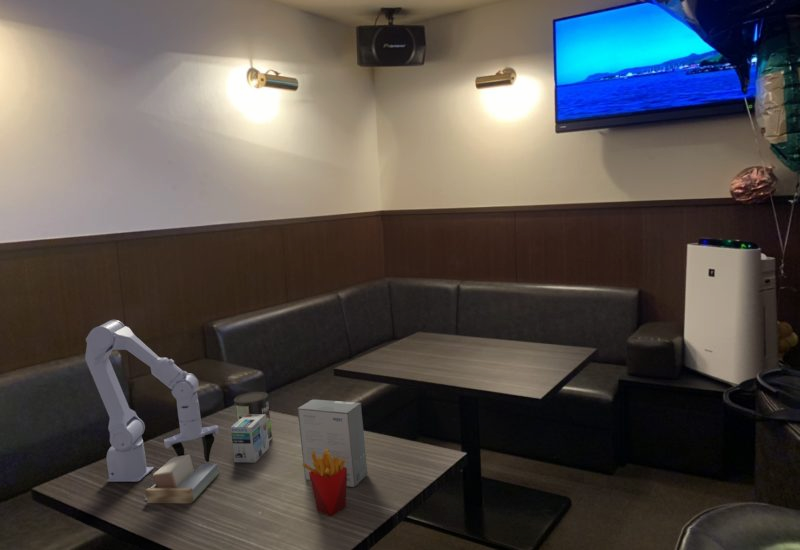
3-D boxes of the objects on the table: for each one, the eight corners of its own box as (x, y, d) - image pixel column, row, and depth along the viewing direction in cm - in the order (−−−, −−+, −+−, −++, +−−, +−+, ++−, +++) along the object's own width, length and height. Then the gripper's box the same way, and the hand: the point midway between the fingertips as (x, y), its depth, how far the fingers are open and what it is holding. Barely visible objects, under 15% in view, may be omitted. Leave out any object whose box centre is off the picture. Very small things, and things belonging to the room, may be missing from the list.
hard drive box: (368, 474, 158) (362, 402, 155) (354, 488, 151) (348, 413, 149) (319, 467, 165) (312, 398, 162) (303, 480, 158) (296, 408, 155)
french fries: (332, 498, 147) (326, 441, 145) (356, 508, 142) (350, 448, 140) (305, 515, 140) (298, 455, 138) (329, 525, 135) (323, 463, 133)
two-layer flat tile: (176, 500, 152) (174, 489, 151) (203, 472, 166) (202, 462, 166) (193, 500, 151) (192, 489, 151) (219, 472, 166) (218, 462, 165)
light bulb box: (255, 463, 170) (251, 427, 169) (233, 463, 171) (229, 427, 170) (270, 447, 181) (266, 413, 179) (249, 447, 182) (245, 413, 180)
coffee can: (275, 432, 192) (271, 390, 190) (268, 445, 182) (263, 401, 180) (243, 434, 192) (238, 392, 190) (234, 448, 182) (229, 403, 180)
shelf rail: (147, 503, 152) (145, 490, 151) (149, 500, 153) (148, 487, 152) (191, 503, 150) (189, 490, 149) (193, 500, 151) (192, 487, 150)
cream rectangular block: (159, 495, 155) (152, 474, 154) (179, 477, 165) (173, 457, 164) (176, 493, 154) (170, 471, 153) (195, 474, 164) (189, 454, 163)
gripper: (211, 407, 174) (216, 451, 176) (159, 421, 166) (165, 467, 168) (218, 414, 168) (224, 459, 170) (165, 428, 160) (171, 476, 162)
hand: (195, 464), depth 169 cm, fingers open, 6 cm apart
